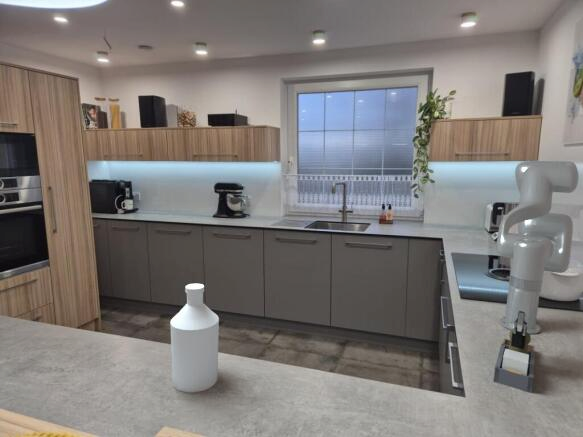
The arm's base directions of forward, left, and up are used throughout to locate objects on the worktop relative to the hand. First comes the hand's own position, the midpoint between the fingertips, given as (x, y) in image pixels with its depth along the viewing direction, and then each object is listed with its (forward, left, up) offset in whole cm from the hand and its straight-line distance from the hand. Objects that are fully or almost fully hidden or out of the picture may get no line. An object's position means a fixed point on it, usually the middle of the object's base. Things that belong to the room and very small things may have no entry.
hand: (518, 340), depth 106 cm
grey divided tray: (+5, 0, -8) cm, 9 cm away
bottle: (+61, -68, -8) cm, 91 cm away
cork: (+1, 0, -8) cm, 8 cm away
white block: (+9, 0, -8) cm, 12 cm away
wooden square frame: (-9, 0, -8) cm, 12 cm away
